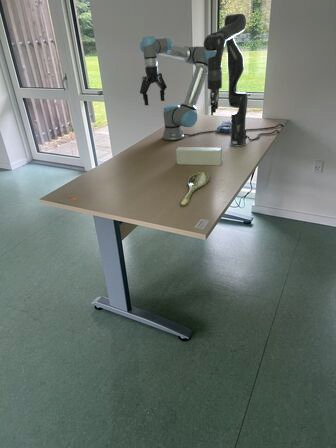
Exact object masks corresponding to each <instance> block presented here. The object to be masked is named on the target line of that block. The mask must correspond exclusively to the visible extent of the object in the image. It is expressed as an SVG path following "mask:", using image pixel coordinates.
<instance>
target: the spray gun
mask: <svg viewBox="0 0 336 448" xmlns="http://www.w3.org/2000/svg"><path fill="white" fill-rule="evenodd" d="M216 130H217V131H218V132H219V133H226V134H229V133H231V120H228V121H222V123H221V124H220V125H218V127H216Z"/></svg>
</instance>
